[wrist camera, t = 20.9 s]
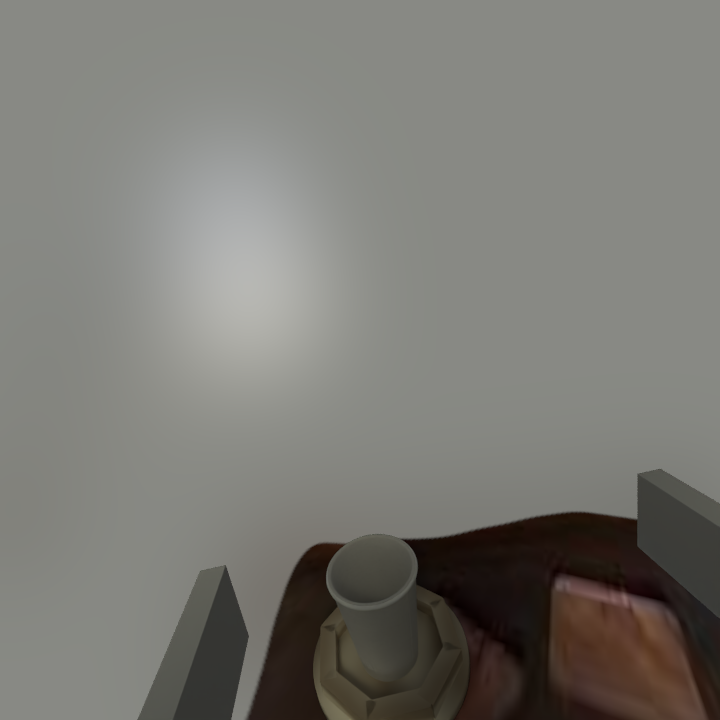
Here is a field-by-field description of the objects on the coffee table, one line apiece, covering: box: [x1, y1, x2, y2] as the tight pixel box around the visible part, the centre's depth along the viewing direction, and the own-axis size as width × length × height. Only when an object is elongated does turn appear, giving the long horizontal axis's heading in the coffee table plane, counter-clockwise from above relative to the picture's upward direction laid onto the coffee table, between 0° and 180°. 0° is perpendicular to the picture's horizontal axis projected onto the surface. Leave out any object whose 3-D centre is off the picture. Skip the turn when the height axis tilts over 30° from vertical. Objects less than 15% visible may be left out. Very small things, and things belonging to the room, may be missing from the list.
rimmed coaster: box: [313, 585, 470, 720], centre depth 36 cm, size 15×15×2 cm
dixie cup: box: [326, 534, 418, 682], centre depth 35 cm, size 8×8×10 cm
